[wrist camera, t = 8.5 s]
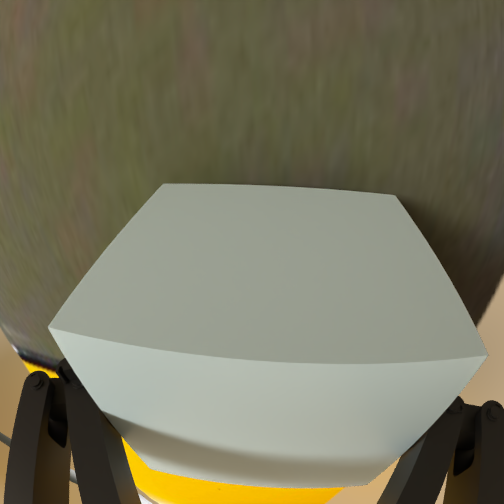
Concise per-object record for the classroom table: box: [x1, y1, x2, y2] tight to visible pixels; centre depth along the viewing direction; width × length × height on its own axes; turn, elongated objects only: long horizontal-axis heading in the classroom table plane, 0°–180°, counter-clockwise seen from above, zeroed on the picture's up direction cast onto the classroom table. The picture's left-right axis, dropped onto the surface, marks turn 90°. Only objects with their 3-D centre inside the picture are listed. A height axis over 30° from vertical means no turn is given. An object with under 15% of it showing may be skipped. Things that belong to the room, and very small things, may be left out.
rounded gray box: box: [48, 184, 488, 488], centre depth 12 cm, size 10×10×9 cm
